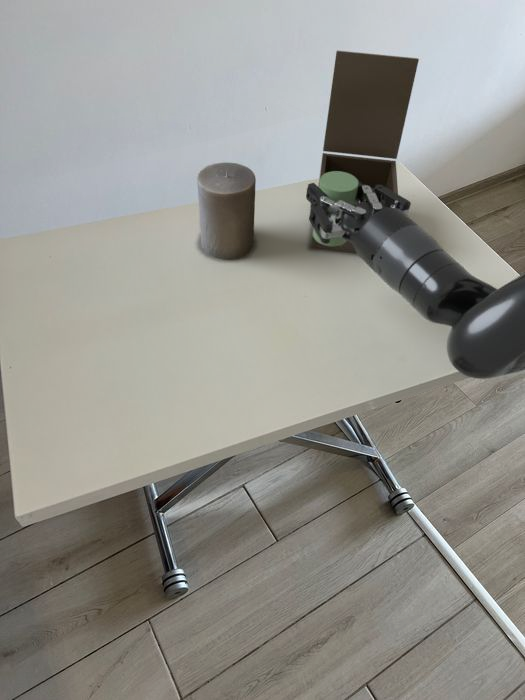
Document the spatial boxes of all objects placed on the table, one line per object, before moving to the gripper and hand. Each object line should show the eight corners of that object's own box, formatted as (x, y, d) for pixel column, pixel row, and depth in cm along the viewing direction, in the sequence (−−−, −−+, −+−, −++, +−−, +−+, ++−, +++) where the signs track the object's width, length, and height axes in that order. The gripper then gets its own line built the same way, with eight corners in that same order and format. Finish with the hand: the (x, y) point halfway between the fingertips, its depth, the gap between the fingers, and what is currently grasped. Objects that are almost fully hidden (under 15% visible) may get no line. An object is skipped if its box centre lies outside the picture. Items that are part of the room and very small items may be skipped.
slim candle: (348, 227, 80) (358, 173, 73) (347, 248, 77) (358, 193, 70) (313, 223, 80) (321, 169, 74) (311, 244, 77) (319, 189, 70)
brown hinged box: (385, 259, 96) (399, 208, 88) (310, 250, 97) (317, 198, 89) (383, 210, 106) (395, 160, 98) (315, 203, 107) (322, 152, 99)
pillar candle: (264, 245, 97) (269, 170, 86) (226, 269, 92) (225, 193, 81) (227, 222, 101) (227, 148, 90) (188, 244, 96) (183, 168, 85)
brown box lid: (418, 59, 87) (418, 58, 88) (336, 51, 88) (336, 50, 89) (396, 159, 97) (396, 157, 98) (322, 151, 98) (323, 149, 99)
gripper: (454, 213, 65) (373, 149, 74) (357, 243, 60) (284, 170, 70) (437, 261, 70) (363, 196, 80) (347, 292, 66) (280, 219, 75)
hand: (327, 184), depth 75 cm, fingers closed on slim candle, 5 cm apart
